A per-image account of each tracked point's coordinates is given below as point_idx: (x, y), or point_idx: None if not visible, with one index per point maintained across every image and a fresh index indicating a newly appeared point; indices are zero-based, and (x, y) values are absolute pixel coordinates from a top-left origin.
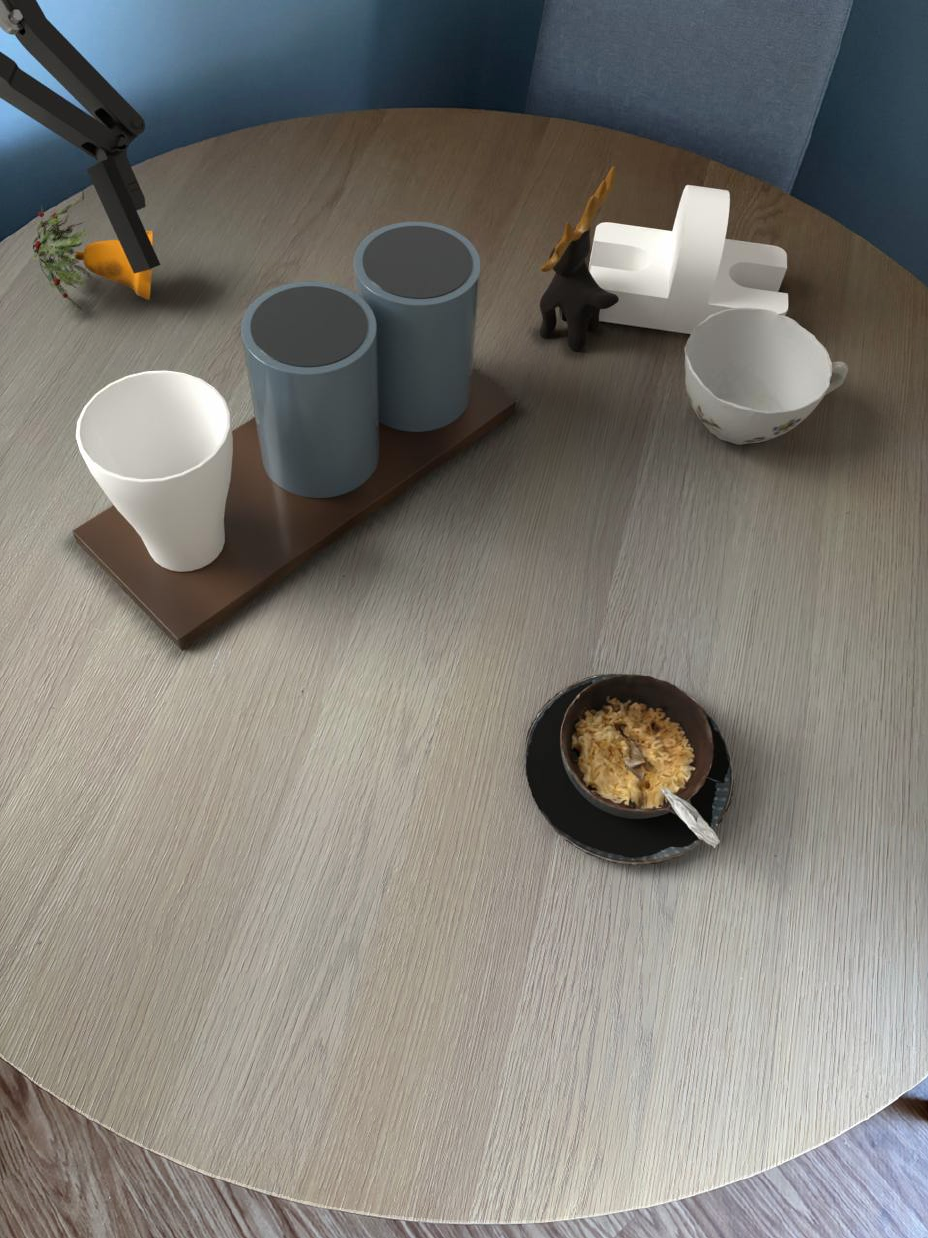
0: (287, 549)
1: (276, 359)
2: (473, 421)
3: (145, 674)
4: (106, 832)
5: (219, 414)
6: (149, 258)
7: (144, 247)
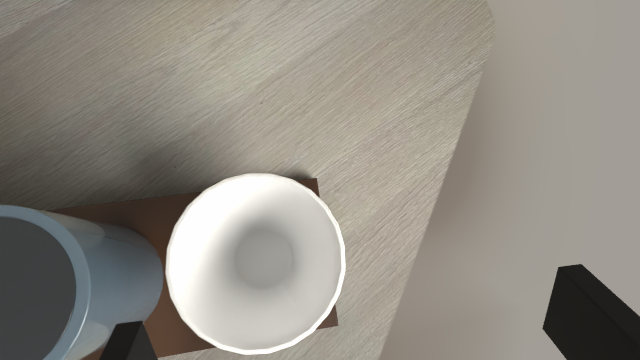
0: None
1: (70, 264)
2: None
3: (345, 178)
4: (414, 95)
5: (181, 256)
6: (127, 335)
7: (118, 356)
